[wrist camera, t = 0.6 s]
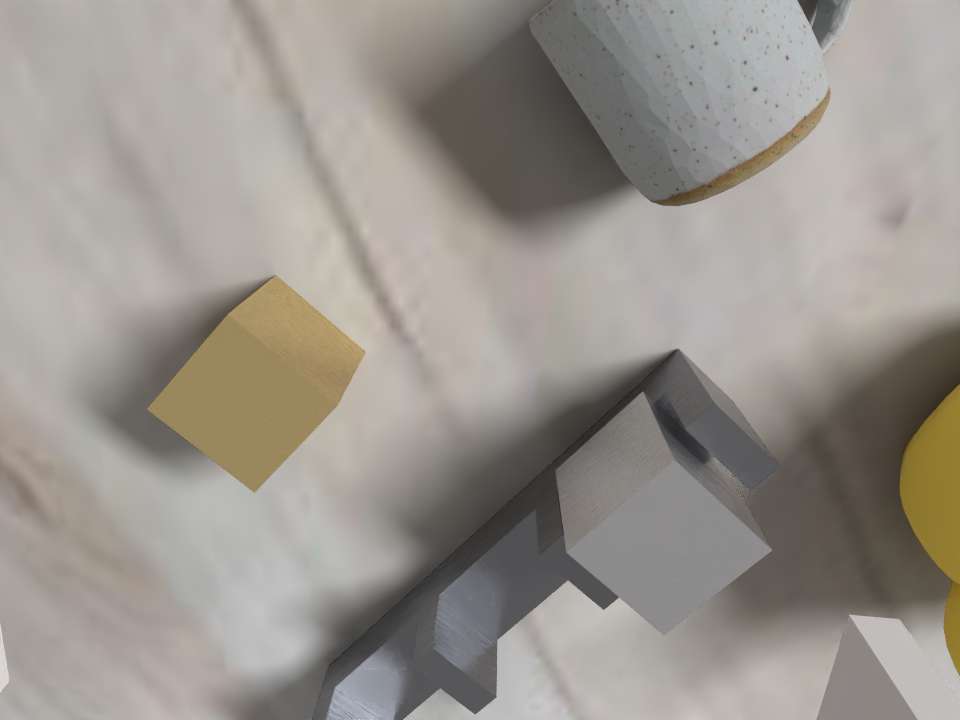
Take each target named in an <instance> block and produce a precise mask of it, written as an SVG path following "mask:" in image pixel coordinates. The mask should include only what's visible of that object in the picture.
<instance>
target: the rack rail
mask: <svg viewBox="0 0 960 720" xmlns="http://www.w3.org/2000/svg"><path fill="white" fill-rule="evenodd" d="M642 392H644V393H645V394H646V395H648V396H649V397H650V398H651V399H652V400H653V401H654V402H655V403H656V404H657V405H658V406H659V407H660V408H661V409H662V410H664V411H665V412H666V413H667V414H668V415H669V416H670V417H671V418H672V419H673V420H674V421H675V422H676V423H677V424H678V425H680V426H681V427H682V428H683V429H684V430H685V431H686V432H687V433H688V434H689V435H690V436H691V437H692V438H693V439H694V440H696V441H697V442H698V443H699V444H700V445H701V446H702V447H703V448H704V449H705V450H706V451H707V452H708V453H709V454H710V455H712V456H713V457H716V458H717V459H718V460H719V461H720V462H721V463H722V464H723V465H724V466H725V467H726V468H727V469H728V470H729V471H730V472H732V473H733V474H734V475H735V476H736V477H737V478H738V479H739V480H740V481H741V482H742V483H743V484H744V485H745V486H746V487H748V488H749V489H750V490H752V489H753V488H754V487H755V486H756V485H758V484H759V483H760V482H761V481H763V480H764V479H765V478H766V477H768V476H769V475H770V474H771V473H772V472H774V471H775V470H776V469H777V468H779V467H780V465H779V464H778V462H777V461H776V460H775V458H774V457H773V455H772V454H771V453H770V451H769V450H768V449H767V447H766V446H765V444H764V443H763V442H762V440H761V439H760V438H759V436H758V435H757V434H756V432H755V431H754V429H753V428H752V427H751V425H750V424H749V423H748V421H747V420H746V418H745V417H744V416H743V414H742V413H741V412H740V410H739V409H738V408H737V406H736V405H735V403H734V402H733V401H732V400H731V399H730V398H729V397H728V396H727V395H726V394H725V393H724V392H723V391H722V390H721V389H720V388H718V387H717V386H716V385H715V384H714V383H713V382H712V381H711V380H710V379H709V378H708V377H707V376H706V375H705V374H704V373H703V372H702V371H701V370H700V369H699V368H698V367H697V366H696V365H695V364H694V363H693V362H692V361H691V360H690V359H689V358H688V357H686V356H685V355H684V354H683V353H682V352H681V351H680V350H679V349H678V350H676V351H675V352H674V353H673V354H672V355H671V356H670V357H669V358H668V359H667V360H665V361H664V362H663V363H662V364H661V365H660V366H659V367H658V368H657V369H656V370H654V371H653V372H652V373H651V374H650V375H649V376H648V377H647V378H646V379H645V380H643V381H642V382H641V383H640V384H639V385H638V386H637V387H636V388H635V389H634V390H632V391H631V392H630V393H629V394H628V395H627V396H626V397H625V398H624V399H623V400H621V401H620V402H619V403H618V404H617V405H616V406H615V407H614V408H613V409H611V410H610V411H609V412H608V413H607V414H606V415H605V416H604V417H603V418H602V419H600V420H599V421H598V422H597V423H596V424H595V425H594V426H593V427H592V428H591V429H589V430H588V431H587V432H586V433H585V434H584V435H583V436H582V437H581V438H580V439H578V440H577V441H576V442H575V443H574V444H573V445H572V446H571V447H570V448H569V449H567V450H566V451H565V452H564V453H563V454H562V455H561V456H560V457H559V458H558V459H556V460H555V461H554V462H553V463H552V464H551V465H550V466H549V467H548V468H547V469H545V470H544V471H543V472H542V473H541V474H540V475H539V476H538V477H537V478H536V479H534V480H533V481H532V482H531V483H530V484H529V485H528V486H527V487H526V488H525V489H523V490H522V491H521V492H520V493H519V494H518V495H517V496H516V497H515V498H514V499H512V500H511V501H510V502H509V503H508V504H507V505H506V506H505V507H504V508H502V509H501V510H500V511H499V512H498V513H497V514H496V515H495V516H494V517H493V518H491V519H490V520H489V521H488V522H487V523H486V524H485V525H484V526H483V527H482V528H480V529H479V530H478V531H477V532H476V533H475V534H474V535H473V536H472V537H471V538H469V539H468V540H467V541H466V542H465V543H464V544H463V545H462V546H461V547H460V548H458V549H457V550H456V551H455V552H454V553H453V554H452V555H451V556H450V557H449V558H447V559H446V560H445V561H444V562H443V563H442V564H441V565H440V566H439V567H438V568H436V569H435V570H434V571H433V572H432V573H431V574H430V575H429V576H428V577H427V578H425V579H424V580H423V581H422V582H421V583H420V584H419V585H418V586H417V587H416V588H414V589H413V590H412V591H411V592H410V593H409V594H408V595H407V596H406V597H404V598H403V599H402V600H401V601H400V602H399V603H398V604H397V605H396V606H395V607H393V608H392V609H391V610H390V611H389V612H388V613H387V614H386V615H385V616H384V617H382V618H381V619H380V620H379V621H378V622H377V623H376V624H375V625H374V626H373V627H371V628H370V629H369V630H368V631H367V632H366V633H365V634H364V635H363V636H362V637H360V638H359V639H358V640H357V641H356V642H355V643H354V644H353V645H352V646H351V647H349V648H348V649H347V650H346V651H345V652H344V653H343V654H342V655H341V656H340V657H338V658H337V659H336V660H335V661H334V662H333V663H332V664H331V665H330V666H329V667H328V669H327V672H326V676H325V679H324V682H323V685H322V689H321V692H320V695H319V699H318V702H317V705H316V708H315V712H314V715H313V718H312V720H403V719H404V718H405V717H406V716H407V715H409V714H410V713H411V712H412V711H413V710H415V709H416V708H417V707H418V706H419V705H420V704H422V703H423V702H424V701H425V700H426V699H428V698H429V697H430V696H431V695H432V694H434V693H435V692H436V691H437V690H438V689H439V688H441V689H442V690H444V691H445V692H446V693H447V694H449V695H450V696H451V697H453V698H454V699H455V700H457V701H458V702H459V703H461V704H462V705H463V706H465V707H466V708H467V709H469V710H470V711H471V712H473V713H474V714H476V713H478V712H479V711H480V710H481V709H482V708H484V707H485V706H486V705H487V704H489V703H490V702H491V701H492V700H494V699H495V698H496V685H497V640H498V639H499V638H500V637H501V636H502V635H504V634H505V633H506V632H507V631H508V630H509V629H511V628H512V627H513V626H514V625H515V624H517V623H518V622H519V621H520V620H521V619H522V618H524V617H525V616H526V615H527V614H528V613H530V612H531V611H532V610H533V609H534V608H536V607H537V606H538V605H539V604H540V603H541V602H543V601H544V600H545V599H546V598H547V597H549V596H550V595H551V594H552V593H553V592H555V591H556V590H557V589H558V588H559V587H560V586H562V585H563V584H564V583H565V582H566V581H568V580H569V581H570V582H571V583H572V584H573V585H574V586H576V587H577V588H578V589H579V590H580V591H582V592H583V593H584V594H585V595H586V596H588V597H589V598H590V599H591V600H592V601H594V602H595V603H596V604H597V605H598V606H600V607H601V608H602V609H603V610H604V609H605V608H607V607H608V606H609V605H610V604H612V603H613V602H614V601H615V600H616V599H618V598H619V597H618V596H617V595H616V594H615V593H614V592H612V591H611V590H610V589H609V588H608V587H606V586H605V585H604V584H603V583H602V582H601V581H599V580H598V579H597V578H596V577H595V576H593V575H592V574H591V573H590V572H589V571H588V570H586V569H585V568H584V567H583V566H582V565H580V564H579V563H578V562H577V561H576V560H575V559H573V558H572V557H571V556H570V555H569V554H567V553H566V547H565V539H564V532H563V524H562V517H561V509H560V502H559V494H558V486H557V479H556V471H555V470H556V469H557V468H559V467H560V466H561V465H562V464H563V463H564V462H565V461H566V460H567V459H568V458H570V457H571V456H572V455H573V454H574V453H575V452H576V451H577V450H578V449H580V448H581V447H582V446H583V445H584V444H585V443H586V442H587V441H588V440H589V439H591V438H592V437H593V436H594V435H595V434H596V433H597V432H598V431H599V430H601V429H602V428H603V427H604V426H605V425H606V424H607V423H608V422H609V421H611V420H612V419H613V418H614V417H615V416H616V415H617V414H618V413H619V412H620V411H622V410H623V409H624V408H625V407H626V406H627V405H628V404H629V403H630V402H632V401H633V400H634V399H635V398H636V397H637V396H638V395H639V394H640V393H642Z"/></svg>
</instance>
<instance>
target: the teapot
mask: <svg viewBox="0 0 960 720" xmlns="http://www.w3.org/2000/svg"><path fill="white" fill-rule="evenodd" d="M902 459H903V462H902V466H901V473H900V497H901V501H902V505H903V509H904V511H905V514H906V516H907V518H908V520H909V522H910V524H911V527H912V529H913V531H914V533H915V535H916V536H917V538H918V539H919V541H920V543H921V544H922V546H923V547H924V549H925V550H926V552H927V553H928V554H929V556H930V557H931V558H932V559H933V561H934V562H935V563H936V565H937V566H938V567H939V568H940V569H941V570H942V571H943V572H944V573H945V574H946V575H947V576H948V577H949V578H950V579H951V580H952V581H953V582H952V585H951V589H950V592H949V596H948V599H947V603H946V606H945V616H944V633H945V639H946V644H947V648H948V651H949V653H950V656H951V658H952V661H953V664H954V666H955V668H956V670H957V671H958V673H959V675H960V384H959V385H958V386H957V387H956V388H955V389H954V390H953V391H952V392H951V393H950V394H949V395H948V396H947V397H946V398H945V399H944V400H943V401H942V402H941V404H940V405H939V406H938V407H937V408H936V409H935V410H934V411H933V412H932V414H931V415H930V416H929V417H928V418H927V419H926V420H925V422H924V423H923V424H922V426H921V427H920V428H919V430H918V431H917V432H916V434H915V435H914V436H913V438H911V440H910V441H909V442H908V443H907V445H906V446H905V449H904V451H903V456H902Z"/></svg>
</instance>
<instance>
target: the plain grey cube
mask: <svg viewBox="0 0 960 720" xmlns="http://www.w3.org/2000/svg"><path fill="white" fill-rule="evenodd" d="M555 471H556V479H557V486H558V494H559V502H560V509H561V517H562V524H563V532H564V539H565V547H566V553H567V554H569V555H570V556H571V557H572V558H573V559H575V560H576V561H577V562H578V563H579V564H580V565H582V566H583V567H584V568H585V569H586V570H588V571H589V572H590V573H591V574H592V575H593V576H595V577H596V578H597V579H598V580H599V581H601V582H602V583H603V584H604V585H605V586H606V587H608V588H609V589H610V590H611V591H612V592H614V593H615V594H616V595H617V596H618V597H620V598H621V599H622V600H623V601H624V602H625V603H627V604H628V605H629V606H630V607H631V608H633V609H634V610H635V611H636V612H637V613H638V614H640V615H641V616H642V617H643V618H644V619H646V620H647V621H648V622H649V623H650V624H651V625H653V626H654V627H655V628H656V629H657V630H659V631H660V632H661V633H662V634H663V635H664V634H666V633H667V632H668V631H670V630H671V629H672V628H673V627H675V626H676V625H677V624H679V623H680V622H681V621H682V620H684V619H685V618H686V617H688V616H689V615H690V614H691V613H693V612H694V611H695V610H697V609H698V608H699V607H700V606H702V605H703V604H704V603H706V602H707V601H708V600H709V599H711V598H712V597H713V596H715V595H716V594H717V593H718V592H720V591H721V590H722V589H724V588H725V587H726V586H727V585H729V584H730V583H731V582H733V581H734V580H735V579H736V578H738V577H739V576H740V575H742V574H743V573H744V572H745V571H747V570H748V569H749V568H751V567H752V566H753V565H754V564H756V563H757V562H758V561H759V560H761V559H762V558H763V557H765V556H766V555H767V554H768V553H770V552H771V551H772V548H771V547H770V545H769V543H768V542H767V540H766V538H765V536H764V535H763V533H762V531H761V530H760V528H759V526H758V524H757V523H756V521H755V519H754V517H753V516H752V514H751V512H750V511H749V509H748V507H747V505H746V504H745V502H744V500H743V498H742V497H741V495H740V493H739V492H738V490H737V488H736V486H735V485H734V483H733V481H732V480H731V478H730V476H729V474H728V473H727V471H726V469H725V468H724V467H723V466H722V465H721V464H720V463H719V462H718V461H717V460H716V459H715V458H714V457H713V456H712V455H710V454H709V453H708V452H707V451H706V450H705V449H704V448H703V447H702V446H701V445H700V444H699V443H698V442H697V441H696V440H694V439H693V438H692V437H691V436H690V435H689V434H688V433H687V432H686V431H685V430H684V429H683V428H682V427H681V426H680V425H678V424H677V423H676V422H675V421H674V420H673V419H672V418H671V417H670V416H669V415H668V414H667V413H666V412H665V411H664V410H662V409H661V408H660V407H659V406H658V405H657V404H656V403H655V402H654V401H653V400H652V399H651V398H650V397H649V396H648V395H646V394H645V393H644V392H642V393H640V394H639V395H638V396H637V397H636V398H635V399H634V400H633V401H632V402H630V403H629V404H628V405H627V406H626V407H625V408H624V409H623V410H622V411H620V412H619V413H618V414H617V415H616V416H615V417H614V418H613V419H612V420H611V421H609V422H608V423H607V424H606V425H605V426H604V427H603V428H602V429H601V430H599V431H598V432H597V433H596V434H595V435H594V436H593V437H592V438H591V439H589V440H588V441H587V442H586V443H585V444H584V445H583V446H582V447H581V448H580V449H578V450H577V451H576V452H575V453H574V454H573V455H572V456H571V457H570V458H568V459H567V460H566V461H565V462H564V463H563V464H562V465H561V466H560V467H559V468H557V469H556V470H555Z"/></svg>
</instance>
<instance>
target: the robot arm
mask: <svg viewBox="0 0 960 720" xmlns="http://www.w3.org/2000/svg"><path fill="white" fill-rule="evenodd" d="M8 683H9V674H8V668H7V662H6V656H5V650H4V644H3V638H2V631H1V625H0V692H1V691H2V690H3V689H4V687H5V686H6V685H7V684H8ZM817 720H960V700H959V699H958V697H957V696H956V695H955V693H954V692H953V691H952V689H951V688H950V687H949V685H948V684H947V683H946V681H945V680H944V679H943V677H942V676H941V675H940V673H939V672H938V671H937V669H936V668H935V667H934V665H933V664H932V662H931V661H930V660H929V658H928V657H927V656H926V654H925V653H924V652H923V650H922V649H921V648H920V646H919V645H918V644H917V642H916V641H915V640H914V638H913V637H912V636H911V634H910V633H909V632H908V630H907V629H906V628H905V626H904V625H903V624H902V622H901V621H900V619H892V618H881V617H870V616H858V615H849V616H848V620H847V623H846V626H845V629H844V633H843V636H842V639H841V642H840V646H839V649H838V652H837V655H836V659H835V662H834V665H833V668H832V672H831V675H830V678H829V681H828V685H827V688H826V691H825V694H824V698H823V701H822V704H821V707H820V711H819V714H818V717H817Z"/></svg>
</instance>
